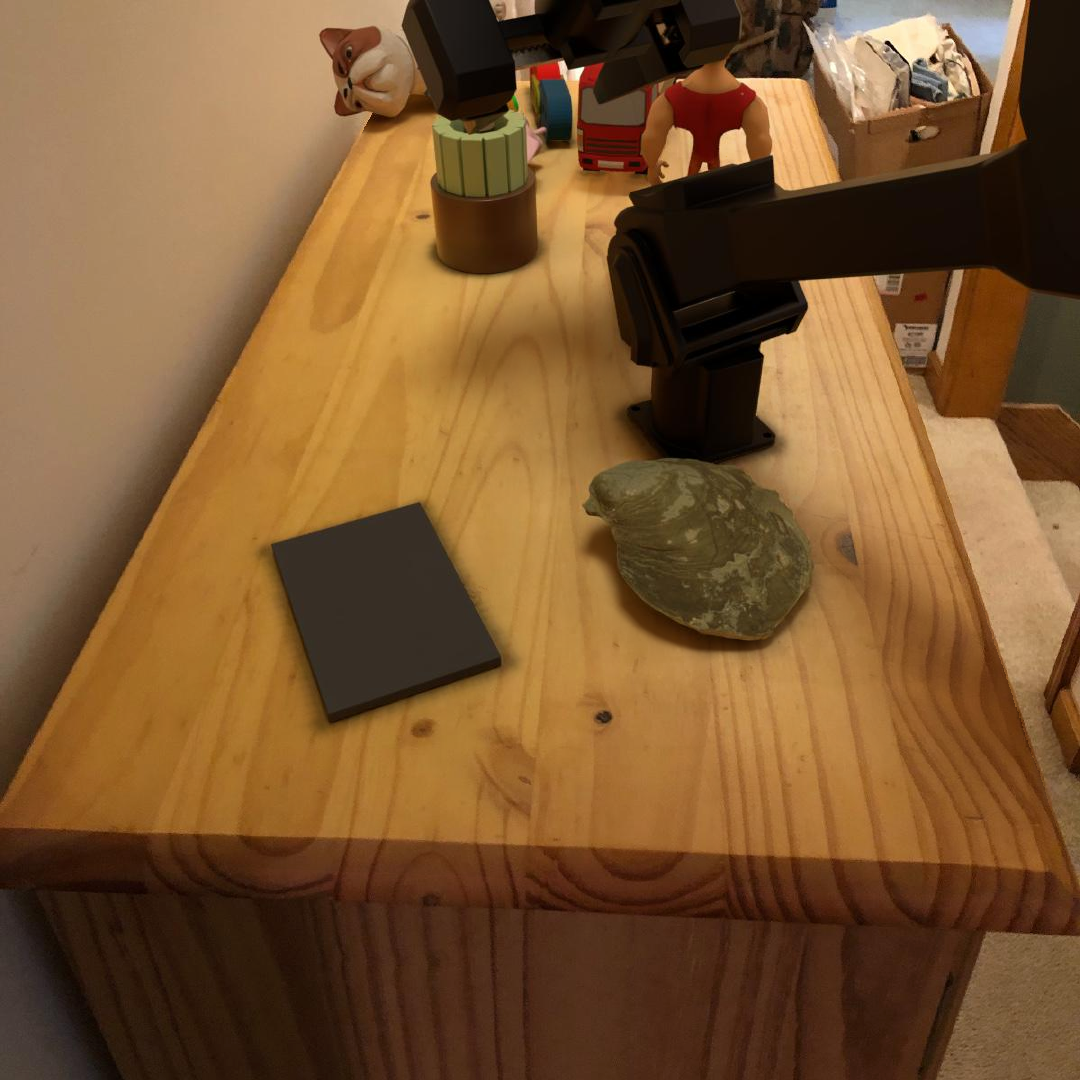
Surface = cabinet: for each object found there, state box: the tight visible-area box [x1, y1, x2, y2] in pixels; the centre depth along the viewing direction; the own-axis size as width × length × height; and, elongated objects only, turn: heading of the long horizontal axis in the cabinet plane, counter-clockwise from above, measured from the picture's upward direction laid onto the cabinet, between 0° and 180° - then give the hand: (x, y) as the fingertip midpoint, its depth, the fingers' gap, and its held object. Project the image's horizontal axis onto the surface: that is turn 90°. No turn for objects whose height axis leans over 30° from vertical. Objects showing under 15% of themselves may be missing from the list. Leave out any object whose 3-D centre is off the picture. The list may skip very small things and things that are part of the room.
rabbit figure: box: [507, 94, 546, 164], centre depth 87 cm, size 6×6×15 cm
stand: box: [429, 122, 539, 274], centre depth 74 cm, size 8×8×9 cm
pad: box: [271, 501, 502, 723], centre depth 49 cm, size 12×8×1 cm, turn 23°
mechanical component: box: [529, 62, 573, 142], centre depth 96 cm, size 17×4×3 cm
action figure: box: [641, 52, 773, 186], centre depth 73 cm, size 10×4×15 cm, turn 80°
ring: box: [431, 109, 529, 197], centre depth 72 cm, size 6×6×4 cm
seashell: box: [581, 457, 815, 641], centre depth 49 cm, size 10×7×10 cm
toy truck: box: [576, 63, 679, 176], centre depth 87 cm, size 7×21×10 cm, turn 167°
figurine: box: [318, 0, 507, 118], centre depth 99 cm, size 8×18×15 cm
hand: (534, 111), depth 63 cm, fingers open, 9 cm apart
